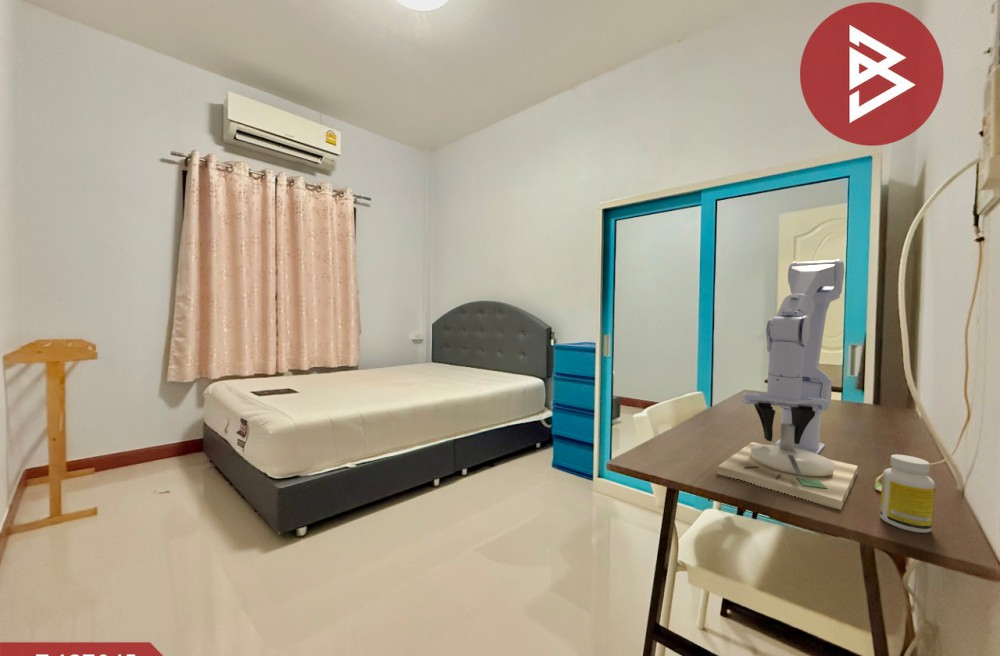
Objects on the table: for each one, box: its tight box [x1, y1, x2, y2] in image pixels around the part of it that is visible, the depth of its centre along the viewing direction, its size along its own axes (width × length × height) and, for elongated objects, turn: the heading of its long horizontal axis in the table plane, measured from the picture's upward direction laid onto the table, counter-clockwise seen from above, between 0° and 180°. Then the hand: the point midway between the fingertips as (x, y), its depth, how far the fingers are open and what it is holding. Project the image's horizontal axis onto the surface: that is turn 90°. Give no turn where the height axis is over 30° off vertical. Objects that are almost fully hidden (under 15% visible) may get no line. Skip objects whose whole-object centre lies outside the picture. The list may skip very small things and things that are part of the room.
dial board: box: [716, 441, 858, 511], centre depth 77 cm, size 22×18×2 cm
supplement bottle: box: [879, 453, 936, 534], centre depth 59 cm, size 5×5×10 cm
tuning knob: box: [751, 423, 834, 476], centre depth 75 cm, size 18×13×6 cm
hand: (781, 441), depth 82 cm, fingers open, 4 cm apart
